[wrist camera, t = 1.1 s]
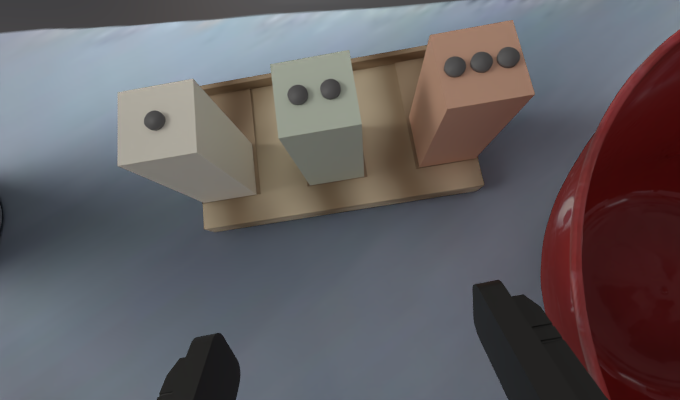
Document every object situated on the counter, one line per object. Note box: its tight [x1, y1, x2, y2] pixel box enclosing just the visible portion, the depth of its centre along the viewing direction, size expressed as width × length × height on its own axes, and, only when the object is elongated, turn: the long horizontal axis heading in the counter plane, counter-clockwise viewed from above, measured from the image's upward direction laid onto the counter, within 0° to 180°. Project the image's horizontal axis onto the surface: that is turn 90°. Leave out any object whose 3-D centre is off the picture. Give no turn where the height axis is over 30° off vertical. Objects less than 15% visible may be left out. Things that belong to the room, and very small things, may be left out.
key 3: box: [409, 20, 535, 167], centre depth 23 cm, size 4×4×10 cm
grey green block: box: [270, 50, 364, 185], centre depth 23 cm, size 4×4×10 cm
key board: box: [200, 45, 484, 232], centre depth 29 cm, size 23×12×3 cm, turn 98°
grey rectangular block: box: [118, 79, 257, 203], centre depth 24 cm, size 4×4×10 cm
